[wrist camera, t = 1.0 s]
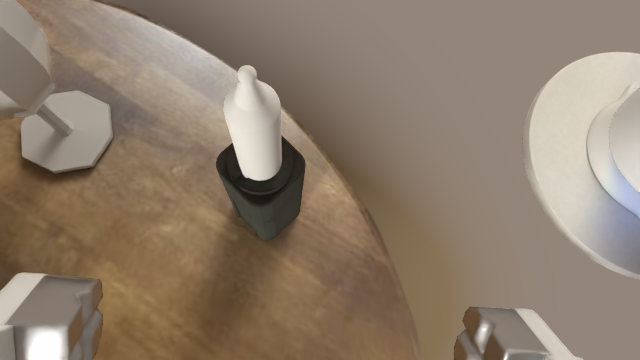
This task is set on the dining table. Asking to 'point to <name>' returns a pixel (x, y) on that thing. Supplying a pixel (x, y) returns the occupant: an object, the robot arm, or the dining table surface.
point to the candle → (259, 158)
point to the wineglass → (46, 99)
